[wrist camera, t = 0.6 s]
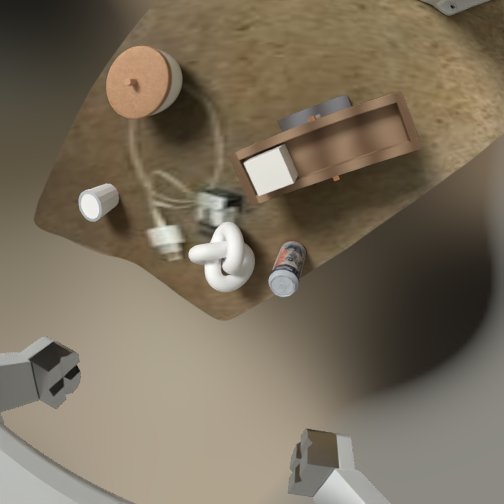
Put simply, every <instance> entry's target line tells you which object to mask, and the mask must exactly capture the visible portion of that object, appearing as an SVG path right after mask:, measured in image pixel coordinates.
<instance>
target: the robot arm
mask: <svg viewBox="0 0 504 504" xmlns="http://www.w3.org/2000/svg"><path fill="white" fill-rule="evenodd" d="M420 1H423V2H426V3H428V4H431V5H433V6H434V7H435V8H437V9H438V10H439V11H441V12H442V13H443V14H445V15H448V16H451V15H454V14H456V13H458V12H461V11H463V10H466V9H468V8H471V7H474V6H476V5H479V4H482V3H484V2H487V1H490V0H420ZM450 5H451V6H453V8H454V9H453V8H451V6H450ZM78 363H79V354H78V353H76V352H75V351H73V350H71V349H69V348H68V347H66V346H64V345H62V344H60V343H59V342H57V341H54V340H53V339H51V338H50V337H48V336H44V337H42V338H41V339H39V340H38V341H36V342H35V343H33V344H32V345H30V346H29V347H28V348H26V349H25V350H23V351H22V352H20V353H19V354H18V353H17V352H12V353H4V354H0V412H3V411H6V410H10V409H13V408H16V407H20V406H23V405H26V404H29V403H32V402H35V401H38V400H39V399H40V400H41V401H43V402H45V403H46V404H48V405H50V406H51V407H53V408H55V409H57V408H58V407H59V406H60V405H61V404H62V403H63V402H64V401H65V400H66V394H70V393H73V392H74V391H75V390H76V389H77V387H78V385H79V383H80V378H81V373H80V370H79V368H78V366H77V364H78ZM290 469H291V470H292V472H293V473H292V474H291V476H290V478H289V486H288V493H289V494H295V495H301V496H308V497H313V498H312V499H313V500H314V502H315V504H390V503H389V502H388V501H387V499H386V498H385V497H384V496H383V495H381V493H380V492H379V491H378V490H377V489H376V488H375V487H374V486H373V485H372V484H371V483H370V482H369V480H368V479H366V477H365V476H364V475H363V474H362V473H361V472H360V471H358V470H355V465H354V457H353V449H352V443H351V437H350V435H348V434H340V433H332V432H325V431H318V430H312V429H305V430H304V431H303V433H302V435H301V442H300V443H298V444H297V445H296V447H295V449H294V451H293V454H292V457H291V463H290ZM0 504H135V503H133V502H131V501H128V500H126V499H124V498H122V497H119V496H117V495H115V494H113V493H111V492H109V491H107V490H104V489H103V488H101V487H99V486H97V485H95V484H93V483H91V482H89V481H87V480H85V479H84V478H82V477H80V476H78V475H77V474H74V473H73V472H71V471H70V470H68V469H66V468H64V467H63V466H61V465H60V464H58V463H56V462H55V461H53V460H52V459H50V458H49V457H47V456H45V455H44V454H43V453H41V452H40V451H38V450H37V449H35V448H34V447H32V446H31V445H30V444H28V443H27V442H26V441H24V440H23V439H22V438H20V437H19V436H17V435H16V434H15V433H14V432H12V431H11V430H10V429H9V428H7V427H6V426H5V425H4V421H3V418H2V416H1V413H0Z"/></svg>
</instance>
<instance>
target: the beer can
mask: <svg viewBox="0 0 504 504" xmlns="http://www.w3.org/2000/svg"><path fill="white" fill-rule="evenodd" d="M305 256H306V251H305V249H304V247H303V246H302V245H301V244H300V243H298V242H295V241H289V242H286V243H285V244H283V246H282V247H281V249H280V252H279V254H278V257H277V259H276V262H275V264H274V267H273V269H272V272H271V274H270V277H269V286H270V289H271V290H272V291H273V292H274V294H276V295H278V296H281V297H285V296H290V295H292V294H293V293H295V292H296V290H297V289H298V286H299V281H300V277H301V273H302V268H303V264H304V260H305Z"/></svg>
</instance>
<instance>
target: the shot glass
mask: <svg viewBox="0 0 504 504" xmlns="http://www.w3.org/2000/svg"><path fill="white" fill-rule="evenodd" d="M118 202H119V194H118V192H117V189H116V188H115V187H114V186H113V185H111V184H104V185H101V186H98V187H95V188H92V189H88V190H85V191H84V192H82V193H81V195H80V197H79V208H80V211H81V213H82V215H83V216H84V217H85V218H86V219H88V220H89V221H94V222H95V221H97V220H99V219H100V218H101V217H103V216H104V215H105V214H106V213H108V212H109V211H110V210H112V209H113V208H114V207H115V206H116V205H117V204H118Z"/></svg>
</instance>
